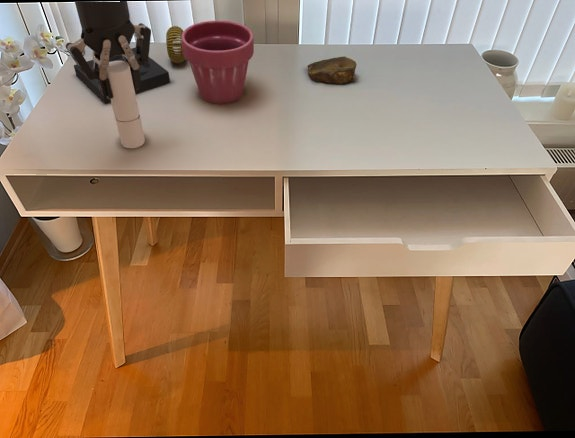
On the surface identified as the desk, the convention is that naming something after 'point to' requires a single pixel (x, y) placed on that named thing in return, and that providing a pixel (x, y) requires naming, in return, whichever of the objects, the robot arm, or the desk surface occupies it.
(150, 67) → the base pad
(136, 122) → the tube
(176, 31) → the sculpture
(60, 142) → the desk surface
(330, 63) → the decorative stone
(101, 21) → the robot arm
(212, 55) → the flower pot
